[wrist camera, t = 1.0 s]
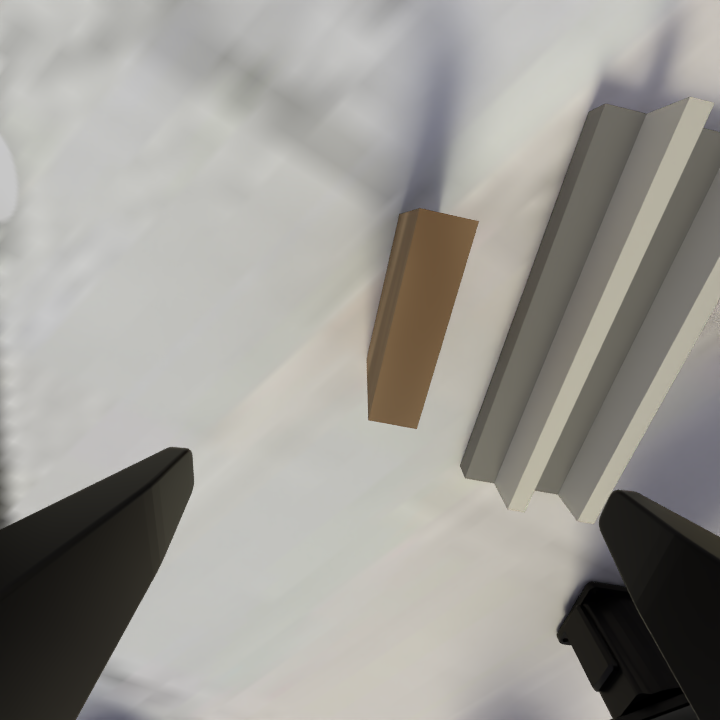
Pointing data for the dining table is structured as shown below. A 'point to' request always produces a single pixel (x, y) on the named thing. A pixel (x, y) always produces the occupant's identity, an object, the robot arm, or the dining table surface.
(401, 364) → the door panel
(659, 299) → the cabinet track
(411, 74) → the dining table surface
